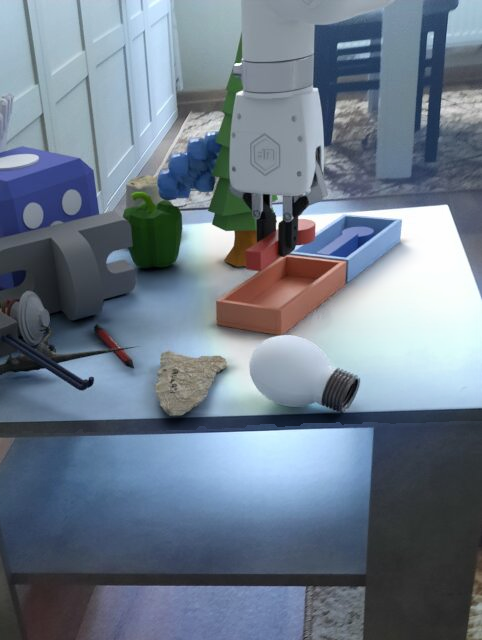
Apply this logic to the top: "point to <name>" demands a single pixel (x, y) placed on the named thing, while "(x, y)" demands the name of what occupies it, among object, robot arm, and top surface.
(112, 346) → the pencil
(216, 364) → the stone tool
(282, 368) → the light bulb
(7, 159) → the toy
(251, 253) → the red spoon
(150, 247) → the bell pepper
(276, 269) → the red bin
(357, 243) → the blue spoon
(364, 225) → the blue bin
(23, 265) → the bracket
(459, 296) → the top surface
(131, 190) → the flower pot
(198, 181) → the grapes
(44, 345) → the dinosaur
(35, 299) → the shock absorber
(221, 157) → the decorative tree
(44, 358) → the dark blue hooked rod
